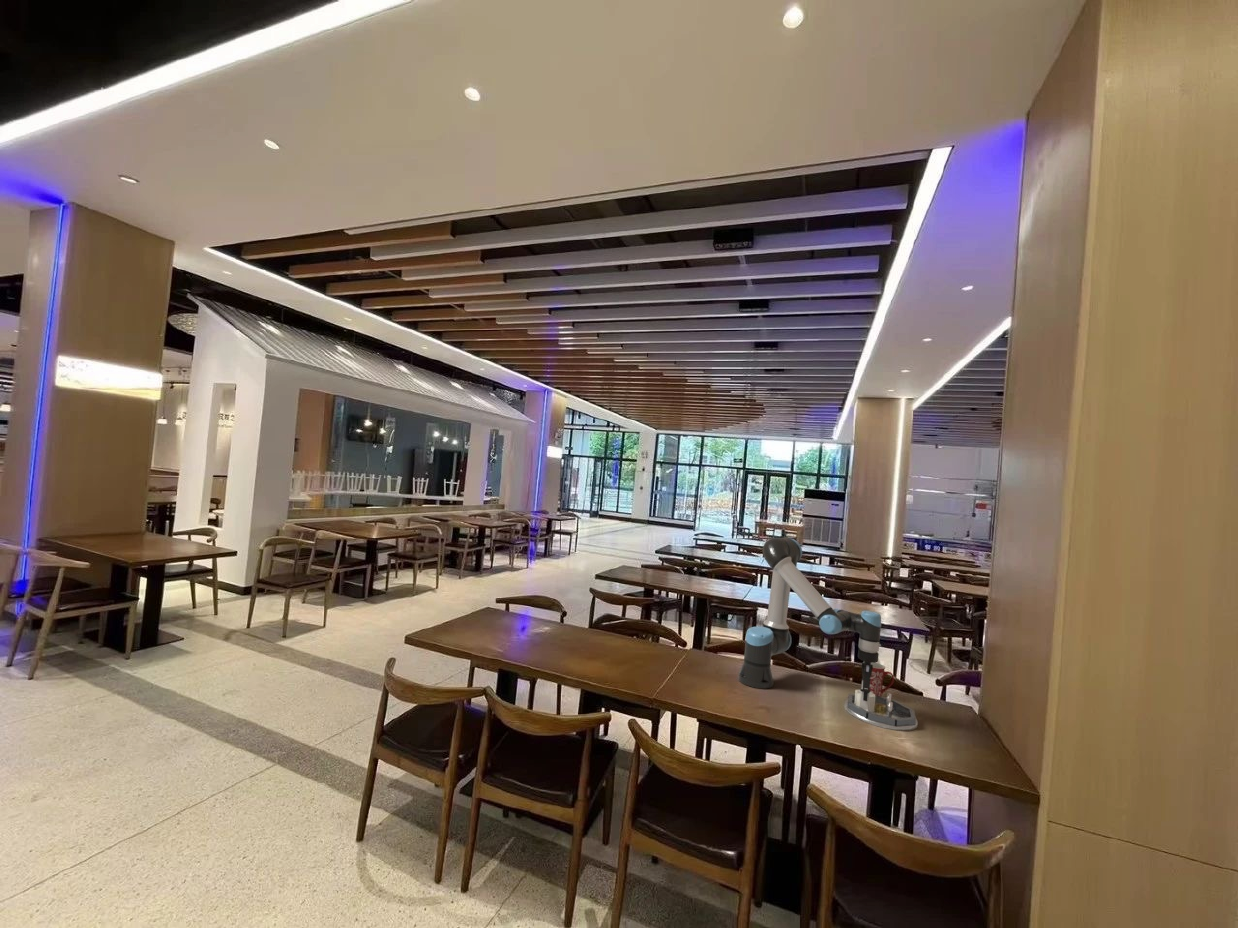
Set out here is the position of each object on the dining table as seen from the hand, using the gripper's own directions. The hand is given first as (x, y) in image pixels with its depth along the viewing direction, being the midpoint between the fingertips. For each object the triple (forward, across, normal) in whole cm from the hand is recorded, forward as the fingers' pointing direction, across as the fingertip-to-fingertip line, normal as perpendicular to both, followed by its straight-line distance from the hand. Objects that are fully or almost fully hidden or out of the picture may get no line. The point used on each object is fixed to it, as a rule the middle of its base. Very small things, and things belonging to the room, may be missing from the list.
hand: (864, 702), depth 214 cm
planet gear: (+2, 0, 0) cm, 2 cm away
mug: (+3, +22, -5) cm, 23 cm away
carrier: (+3, 0, -6) cm, 7 cm away
